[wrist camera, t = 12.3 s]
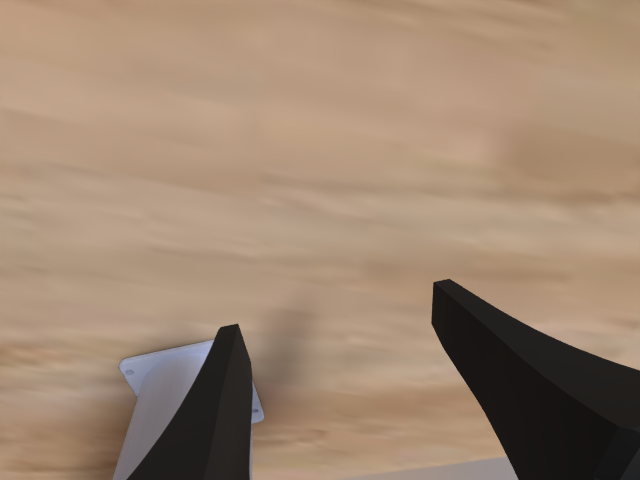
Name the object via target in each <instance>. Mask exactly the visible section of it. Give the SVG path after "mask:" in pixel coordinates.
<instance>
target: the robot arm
mask: <svg viewBox="0 0 640 480" xmlns="http://www.w3.org/2000/svg"><path fill="white" fill-rule="evenodd" d="M431 323H432V325H433V328H434V330H435V332H436V334H437V336H438V338H439V340H440V342H441V344H442V346H443V348H444V350H445V351H446V353H447V354H448V356H449V358H450V359H451V361H452V362H453V364H454V365H455V367H456V368H457V370H458V371H459V373H460V374H461V376H462V378H463V379H464V381H465V382H466V384H467V385H468V387H469V388H470V390H471V391H472V393H473V394H474V396H475V397H476V399H477V400H478V402H479V404H480V405H481V407H482V409H483V410H484V412H485V414H486V416H487V418H488V420H489V422H490V423H491V425H492V427H493V429H494V431H495V433H496V435H497V437H498V439H499V441H500V443H501V445H502V447H503V449H504V451H505V453H506V455H507V457H508V458H509V461H510V463H511V464H512V466H513V469H514V471H515V473H516V475H517V477H518V479H519V480H640V371H639V370H636V369H633V368H630V367H627V366H624V365H621V364H618V363H615V362H612V361H609V360H606V359H603V358H601V357H598V356H596V355H593V354H590V353H588V352H585V351H583V350H580V349H577V348H575V347H573V346H570V345H568V344H566V343H563V342H561V341H559V340H557V339H555V338H552V337H550V336H548V335H546V334H544V333H542V332H540V331H537V330H535V329H533V328H532V327H530V326H528V325H526V324H524V323H522V322H520V321H518V320H517V319H515V318H513V317H511V316H509V315H508V314H506V313H504V312H502V311H501V310H499V309H497V308H496V307H494V306H492V305H491V304H489V303H487V302H486V301H484V300H482V299H481V298H479V297H478V296H476V295H474V294H473V293H471V292H470V291H468V290H466V289H465V288H463V287H462V286H460V285H459V284H457V283H455V282H454V281H452V280H450V279H447V280H442V281H437V282H434V284H433V303H432V321H431ZM119 369H120V371H121V372H122V374H123V375H124V377H125V379H126V380H127V382H128V383H129V385H130V387H131V388H132V390H133V391H134V393H135V395H136V396H137V398H138V399H137V402H136V405H135V408H134V411H133V415H132V418H131V421H130V424H129V427H128V431H127V434H126V437H125V440H124V443H123V447H122V450H121V453H120V456H119V459H118V463H117V466H116V469H115V472H114V475H113V479H112V480H252V423H256V422H260V421H262V420H263V419H264V412H263V409H262V406H261V403H260V400H259V397H258V394H257V391H256V388H255V385H254V382H253V380H252V369H251V361H250V358H249V355H248V352H247V349H246V346H245V343H244V340H243V337H242V334H241V331H240V328H239V325H238V324H234V325H229V326H224V327H221V328H220V329H219V330H218V332H217V335H216V337H215V339H214V340H210V341H205V342H200V343H196V344H191V345H186V346H182V347H177V348H172V349H168V350H163V351H158V352H154V353H149V354H144V355H140V356H135V357H130V358H126V359H123V360H122V361H121V362H120V365H119ZM131 370H132V371H131Z"/></svg>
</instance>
